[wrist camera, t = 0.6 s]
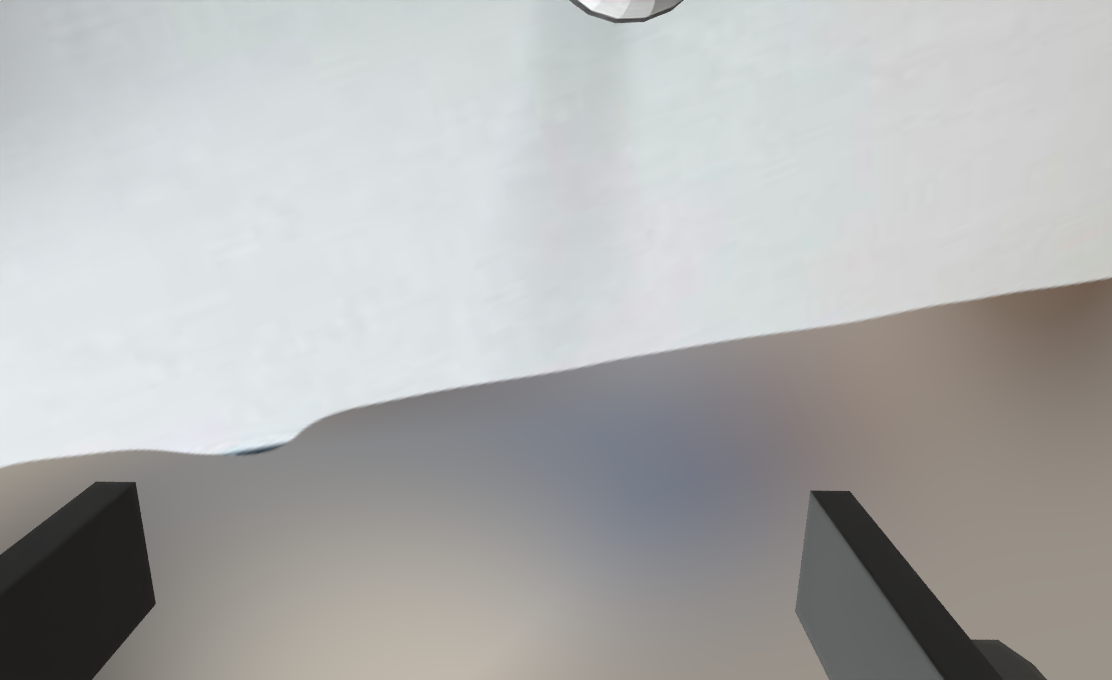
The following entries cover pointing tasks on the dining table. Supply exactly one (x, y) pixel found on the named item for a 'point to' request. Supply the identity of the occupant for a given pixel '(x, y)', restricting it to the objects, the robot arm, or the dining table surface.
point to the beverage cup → (626, 9)
